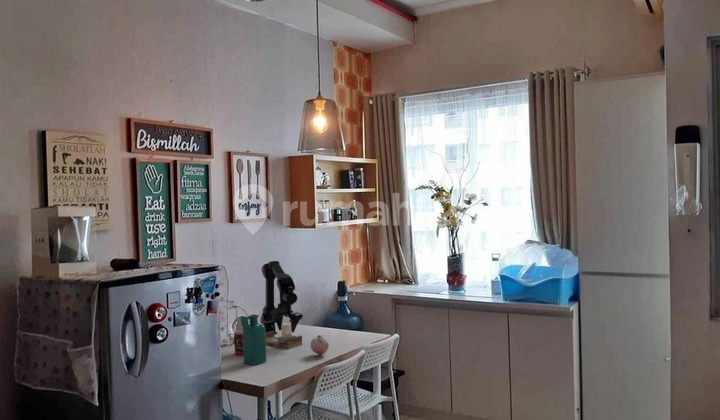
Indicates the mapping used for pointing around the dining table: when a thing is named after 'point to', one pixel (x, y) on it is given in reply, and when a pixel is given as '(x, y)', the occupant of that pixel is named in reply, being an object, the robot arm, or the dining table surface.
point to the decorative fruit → (319, 345)
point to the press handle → (285, 333)
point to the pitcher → (253, 340)
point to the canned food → (238, 342)
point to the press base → (289, 343)
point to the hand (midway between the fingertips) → (286, 331)
